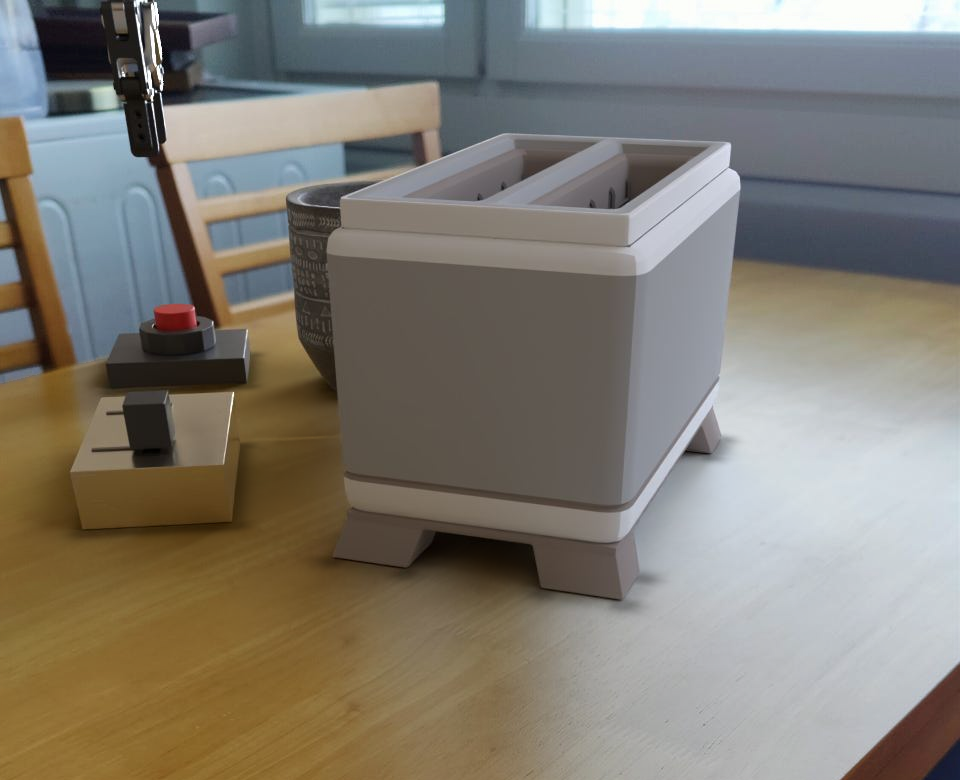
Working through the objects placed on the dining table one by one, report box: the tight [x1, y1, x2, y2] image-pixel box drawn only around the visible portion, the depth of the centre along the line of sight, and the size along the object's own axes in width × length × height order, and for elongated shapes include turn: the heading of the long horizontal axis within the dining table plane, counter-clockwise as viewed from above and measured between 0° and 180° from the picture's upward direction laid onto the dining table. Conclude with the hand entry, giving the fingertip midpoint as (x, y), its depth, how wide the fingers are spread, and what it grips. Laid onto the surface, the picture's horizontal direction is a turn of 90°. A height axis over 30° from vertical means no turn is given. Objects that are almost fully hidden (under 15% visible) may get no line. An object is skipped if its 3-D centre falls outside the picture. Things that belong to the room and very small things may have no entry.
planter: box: [285, 179, 385, 392], centre depth 104 cm, size 14×14×15 cm
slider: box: [122, 389, 175, 450], centre depth 82 cm, size 3×3×3 cm
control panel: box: [69, 391, 241, 530], centre depth 87 cm, size 10×16×4 cm, turn 7°
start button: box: [153, 303, 197, 331], centre depth 109 cm, size 4×4×2 cm
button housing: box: [105, 315, 251, 390], centre depth 110 cm, size 12×10×4 cm
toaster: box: [327, 132, 742, 601], centre depth 82 cm, size 19×34×20 cm, turn 160°
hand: (150, 149), depth 100 cm, fingers open, 6 cm apart
